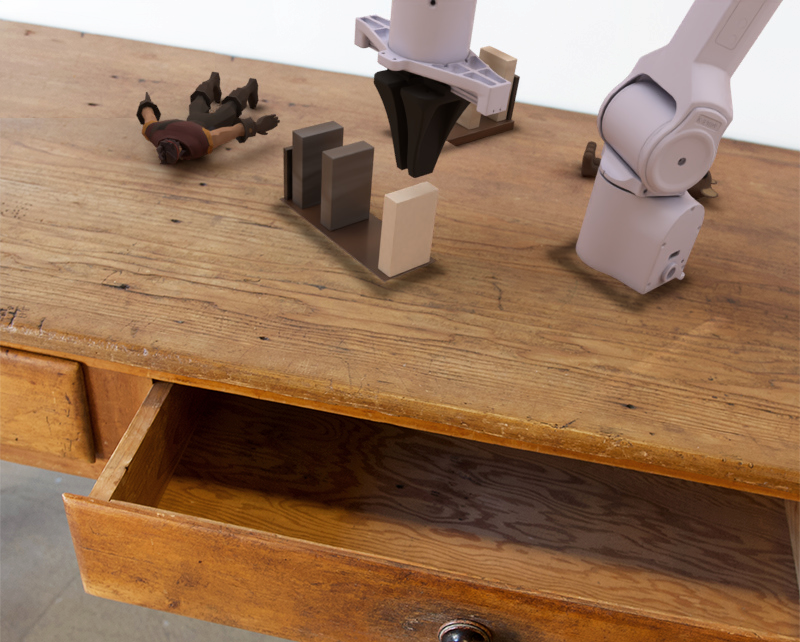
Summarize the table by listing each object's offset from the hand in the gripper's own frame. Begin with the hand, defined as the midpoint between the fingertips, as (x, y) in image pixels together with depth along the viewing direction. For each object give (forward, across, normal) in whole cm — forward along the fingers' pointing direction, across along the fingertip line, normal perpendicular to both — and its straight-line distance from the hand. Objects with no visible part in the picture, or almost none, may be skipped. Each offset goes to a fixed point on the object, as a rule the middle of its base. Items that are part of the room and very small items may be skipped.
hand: (414, 169), depth 60 cm
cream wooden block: (+9, 0, 0) cm, 9 cm away
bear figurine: (+10, +1, +34) cm, 35 cm away
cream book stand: (+10, -20, +24) cm, 32 cm away
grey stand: (+10, -7, 0) cm, 12 cm away
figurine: (+10, -31, -2) cm, 33 cm away
